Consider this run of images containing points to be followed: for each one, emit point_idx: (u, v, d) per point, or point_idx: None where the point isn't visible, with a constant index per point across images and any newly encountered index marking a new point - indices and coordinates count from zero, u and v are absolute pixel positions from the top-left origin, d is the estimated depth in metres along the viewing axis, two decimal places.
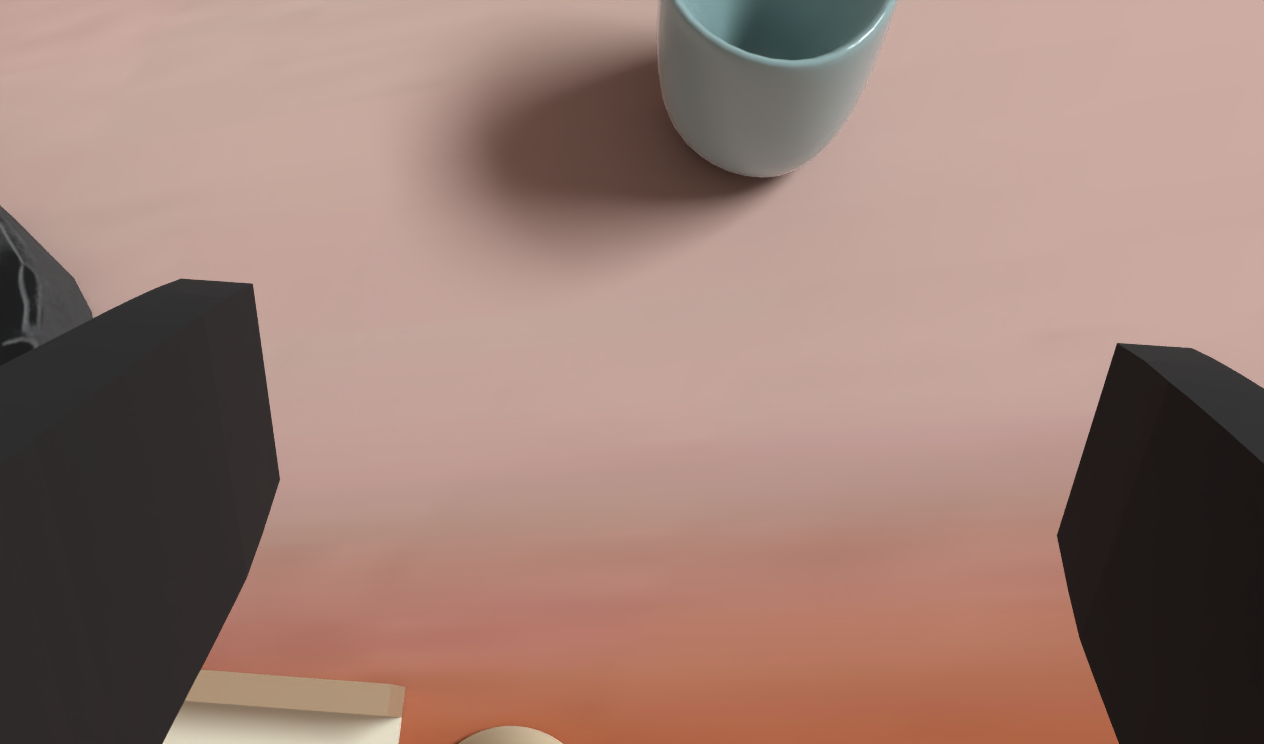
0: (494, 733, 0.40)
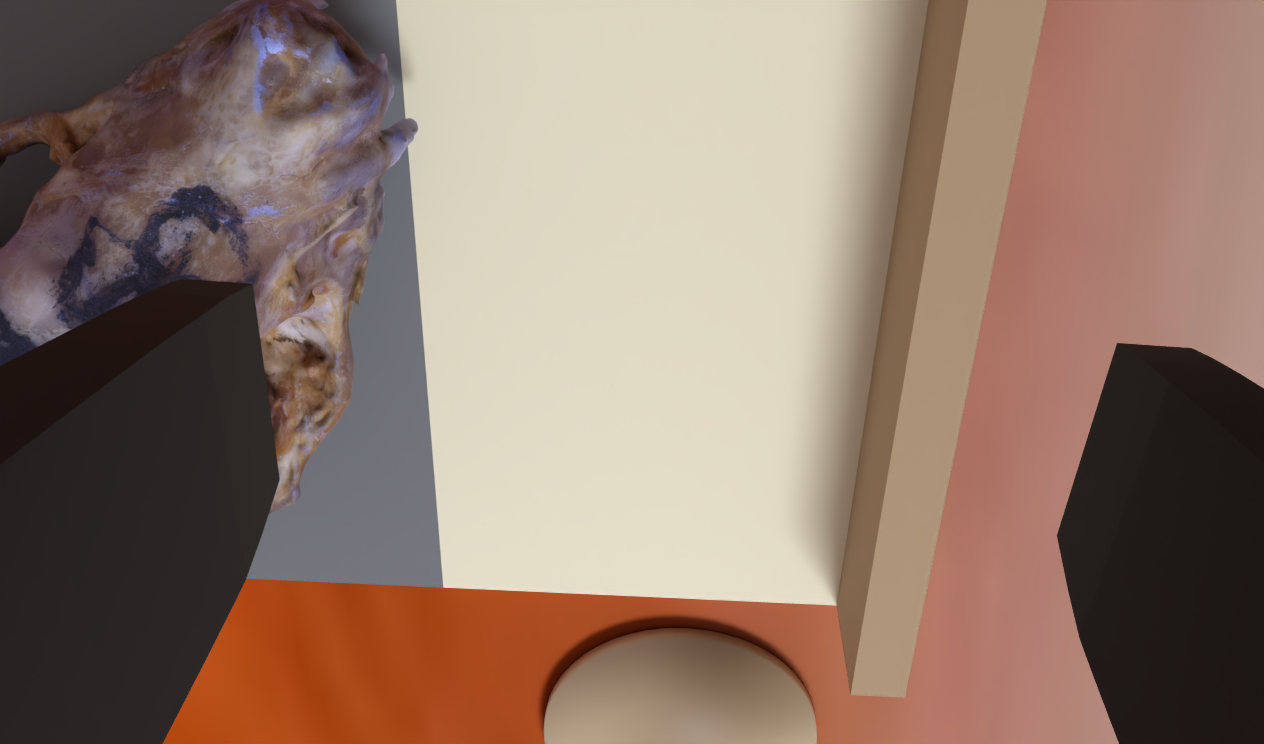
0: (806, 720, 0.25)
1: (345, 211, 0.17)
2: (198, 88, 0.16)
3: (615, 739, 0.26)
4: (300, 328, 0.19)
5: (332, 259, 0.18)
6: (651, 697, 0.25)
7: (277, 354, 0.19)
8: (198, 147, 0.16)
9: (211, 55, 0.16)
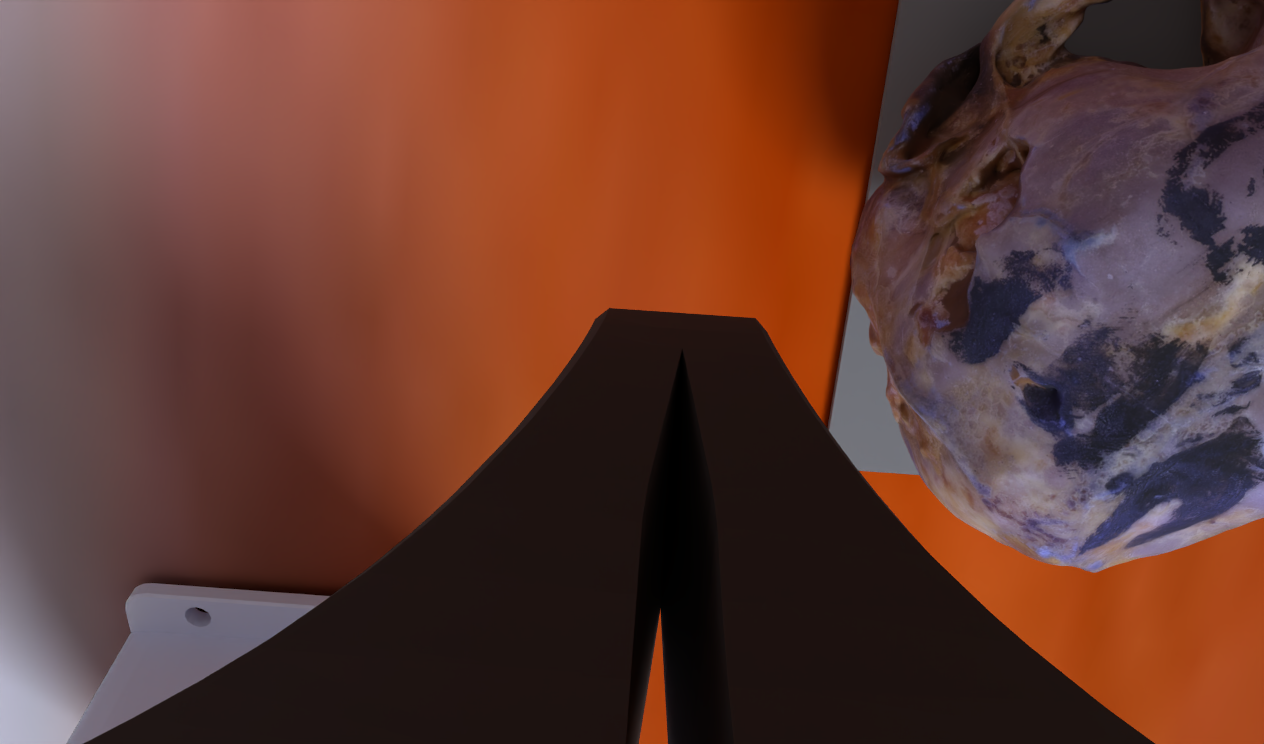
0: None
1: None
2: None
3: None
4: None
5: None
6: None
7: None
8: None
9: None
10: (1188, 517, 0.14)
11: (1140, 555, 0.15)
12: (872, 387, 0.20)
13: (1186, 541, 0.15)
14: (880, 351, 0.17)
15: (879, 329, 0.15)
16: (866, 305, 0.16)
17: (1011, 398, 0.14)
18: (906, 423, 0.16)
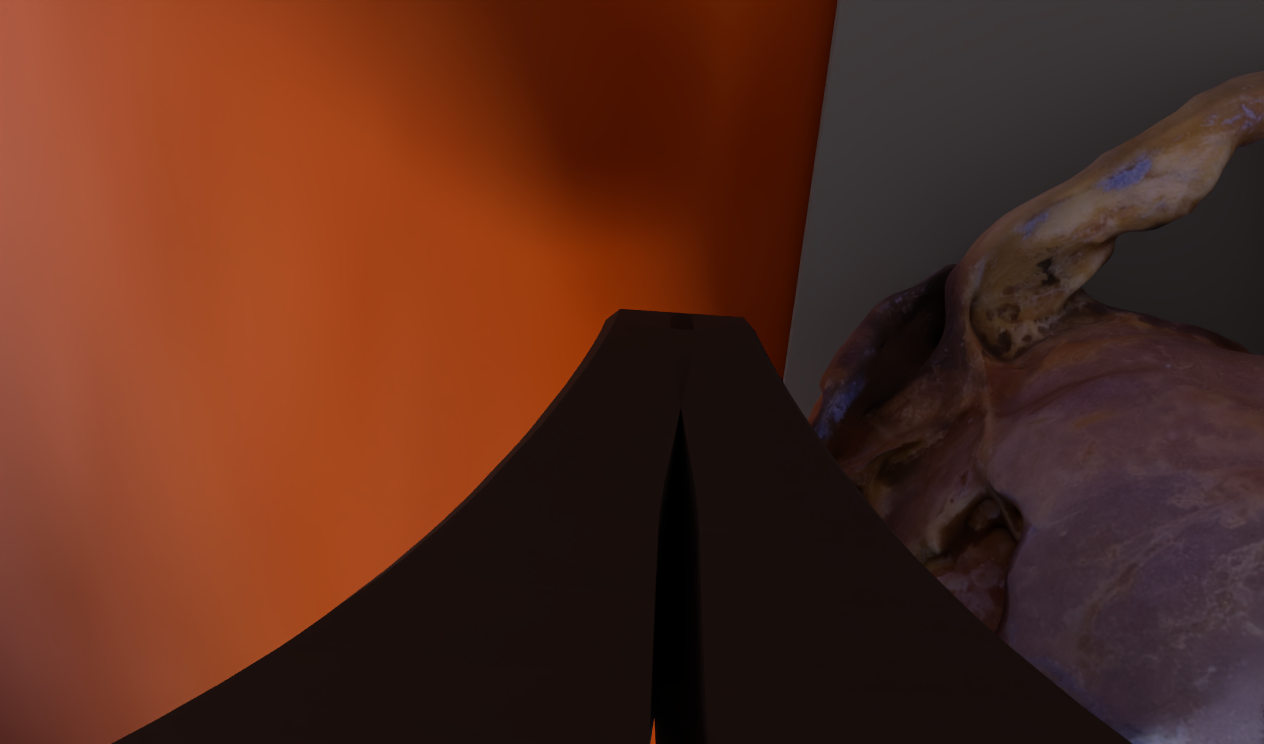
0: None
1: None
2: None
3: None
4: None
5: None
6: None
7: None
8: None
9: None
10: None
11: None
12: None
13: None
14: None
15: None
16: None
17: None
18: None
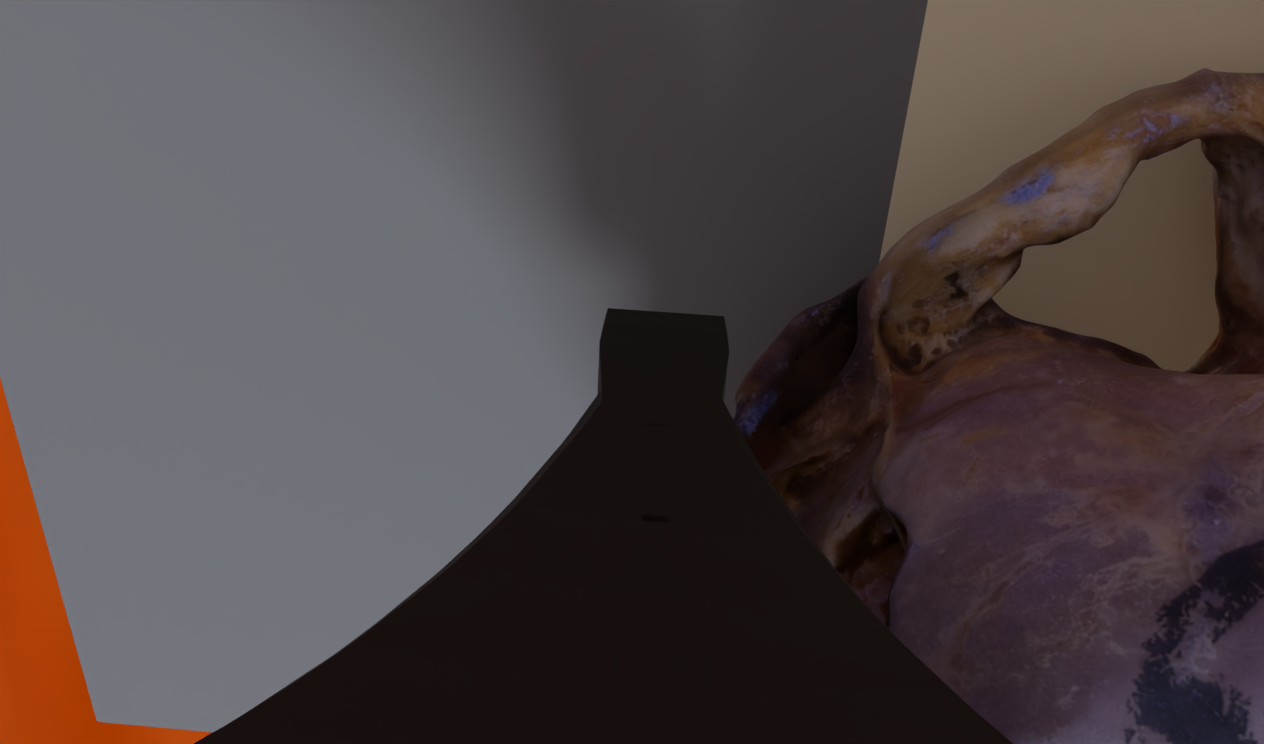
0: None
1: None
2: None
3: None
4: None
5: None
6: None
7: None
8: None
9: None
10: None
11: None
12: (119, 626, 0.14)
13: None
14: None
15: None
16: None
17: None
18: None
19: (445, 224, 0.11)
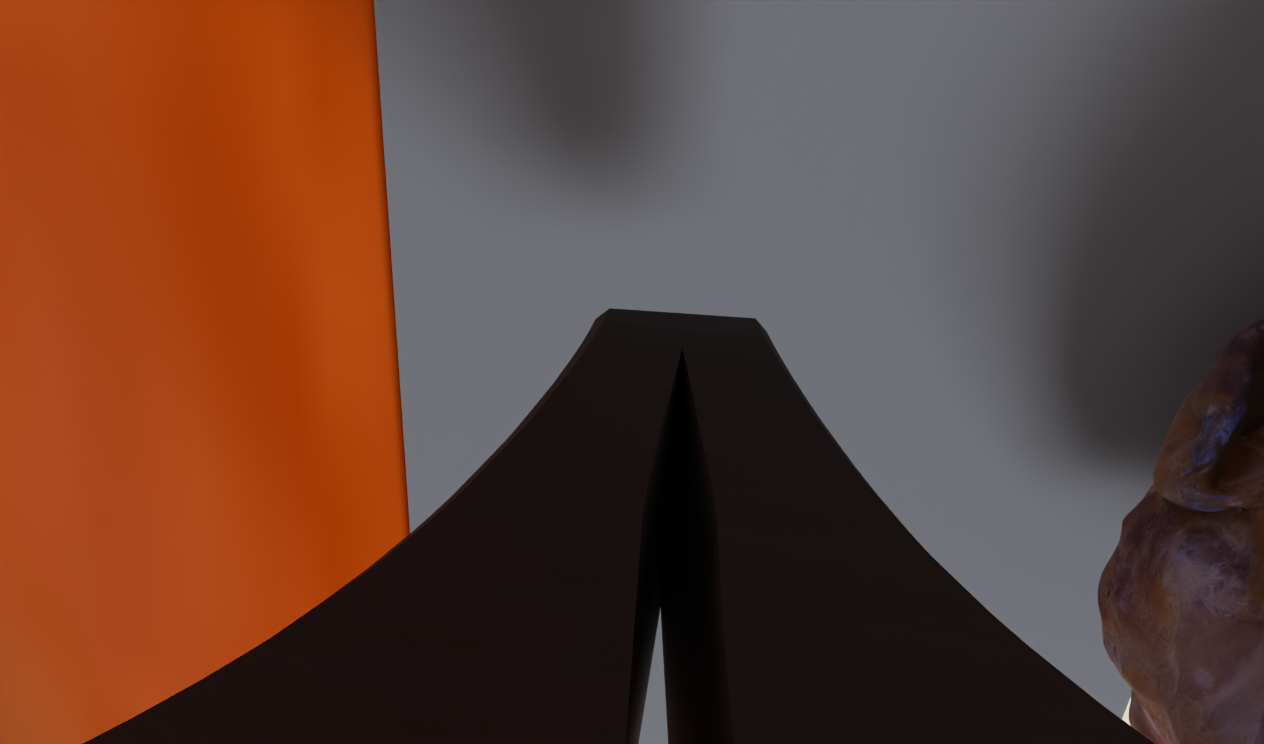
0: None
1: None
2: None
3: None
4: None
5: None
6: None
7: None
8: None
9: None
10: None
11: None
12: None
13: None
14: None
15: None
16: (1149, 708, 0.11)
17: None
18: None
19: (876, 241, 0.12)
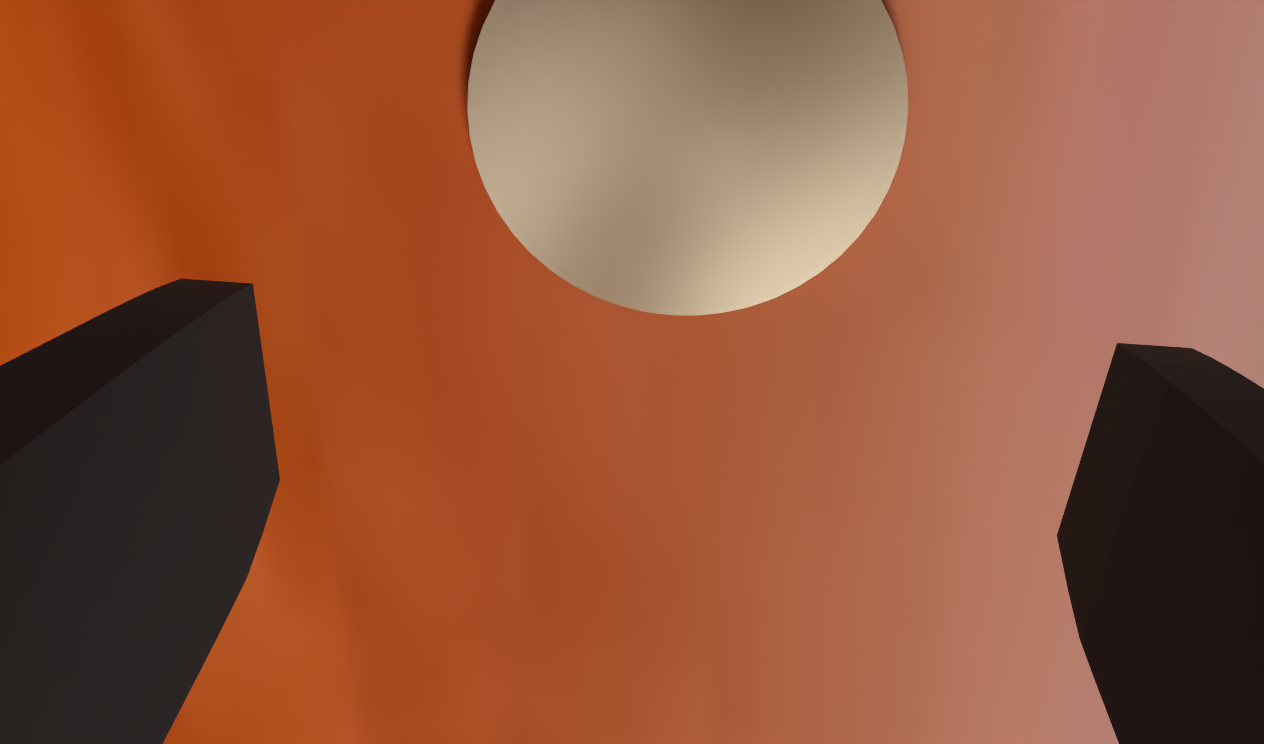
0: (892, 83, 0.16)
1: None
2: None
3: (582, 126, 0.16)
4: None
5: None
6: (641, 30, 0.15)
7: None
8: None
9: None
10: None
11: None
12: None
13: None
14: None
15: None
16: None
17: None
18: None
19: None
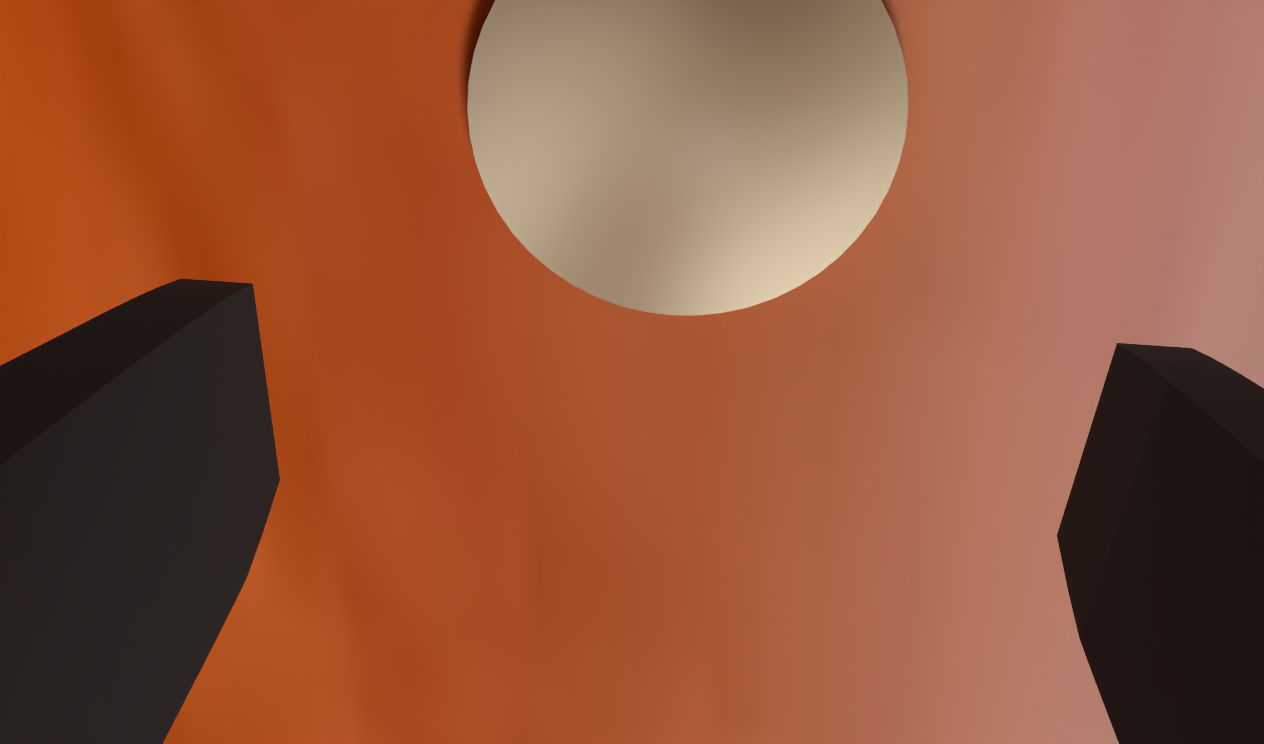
0: (892, 83, 0.16)
1: None
2: None
3: (582, 126, 0.16)
4: None
5: None
6: (641, 30, 0.15)
7: None
8: None
9: None
10: None
11: None
12: None
13: None
14: None
15: None
16: None
17: None
18: None
19: None
